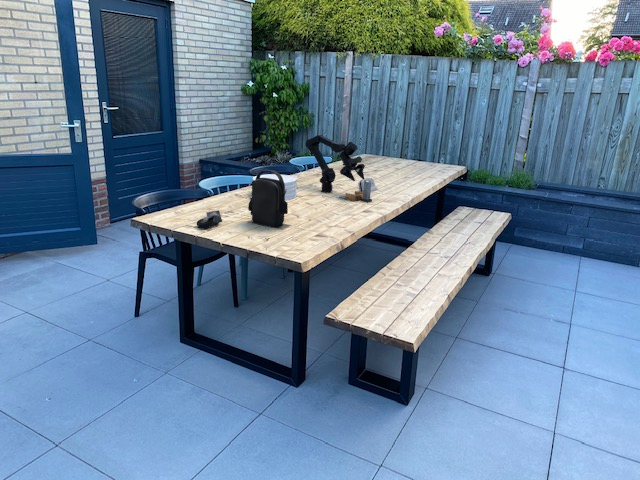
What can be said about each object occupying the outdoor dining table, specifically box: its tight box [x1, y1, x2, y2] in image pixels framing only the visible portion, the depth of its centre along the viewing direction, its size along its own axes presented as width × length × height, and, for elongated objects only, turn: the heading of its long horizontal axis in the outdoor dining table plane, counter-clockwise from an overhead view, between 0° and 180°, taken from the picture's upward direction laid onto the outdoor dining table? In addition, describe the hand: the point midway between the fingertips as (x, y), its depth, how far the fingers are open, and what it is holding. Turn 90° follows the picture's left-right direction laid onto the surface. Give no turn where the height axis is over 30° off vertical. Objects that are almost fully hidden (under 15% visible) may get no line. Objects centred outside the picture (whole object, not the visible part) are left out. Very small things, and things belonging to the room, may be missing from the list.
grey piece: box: [360, 180, 373, 203], centre depth 301 cm, size 5×5×13 cm
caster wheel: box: [196, 209, 223, 230], centre depth 240 cm, size 7×11×10 cm
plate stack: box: [252, 173, 298, 202], centre depth 307 cm, size 28×28×12 cm
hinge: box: [358, 177, 379, 193], centre depth 331 cm, size 17×5×10 cm, turn 145°
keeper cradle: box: [338, 190, 363, 202], centre depth 310 cm, size 13×14×4 cm
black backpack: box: [246, 169, 292, 230], centre depth 245 cm, size 23×9×28 cm, turn 60°
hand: (359, 179), depth 304 cm, fingers open, 9 cm apart
